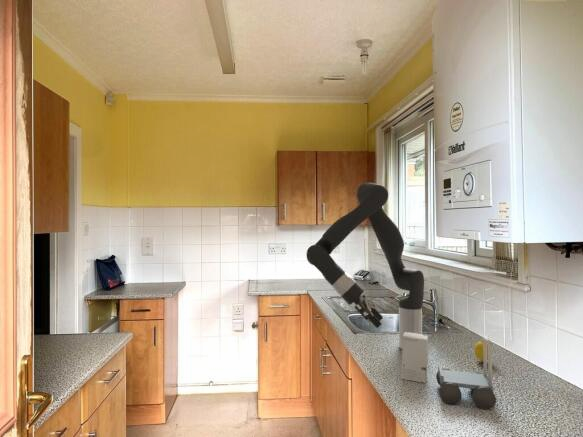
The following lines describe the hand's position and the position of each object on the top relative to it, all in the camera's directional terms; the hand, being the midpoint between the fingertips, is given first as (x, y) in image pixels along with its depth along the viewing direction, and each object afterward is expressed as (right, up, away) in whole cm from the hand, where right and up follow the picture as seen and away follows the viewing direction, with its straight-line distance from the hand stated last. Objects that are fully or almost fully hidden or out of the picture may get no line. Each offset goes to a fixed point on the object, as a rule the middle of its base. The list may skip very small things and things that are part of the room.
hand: (380, 322), depth 130 cm
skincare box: (+11, -18, -3) cm, 22 cm away
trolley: (+22, -18, -17) cm, 33 cm away
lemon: (+41, -18, +10) cm, 46 cm away
